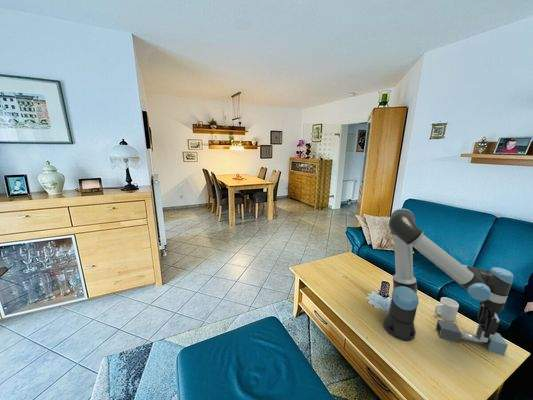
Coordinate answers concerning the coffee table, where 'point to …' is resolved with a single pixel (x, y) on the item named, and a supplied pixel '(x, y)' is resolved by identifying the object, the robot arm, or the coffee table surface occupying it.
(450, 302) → the cup
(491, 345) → the socket
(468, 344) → the coffee table surface
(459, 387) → the coffee table surface
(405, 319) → the robot arm
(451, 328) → the grey metal block
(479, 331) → the grey piece
